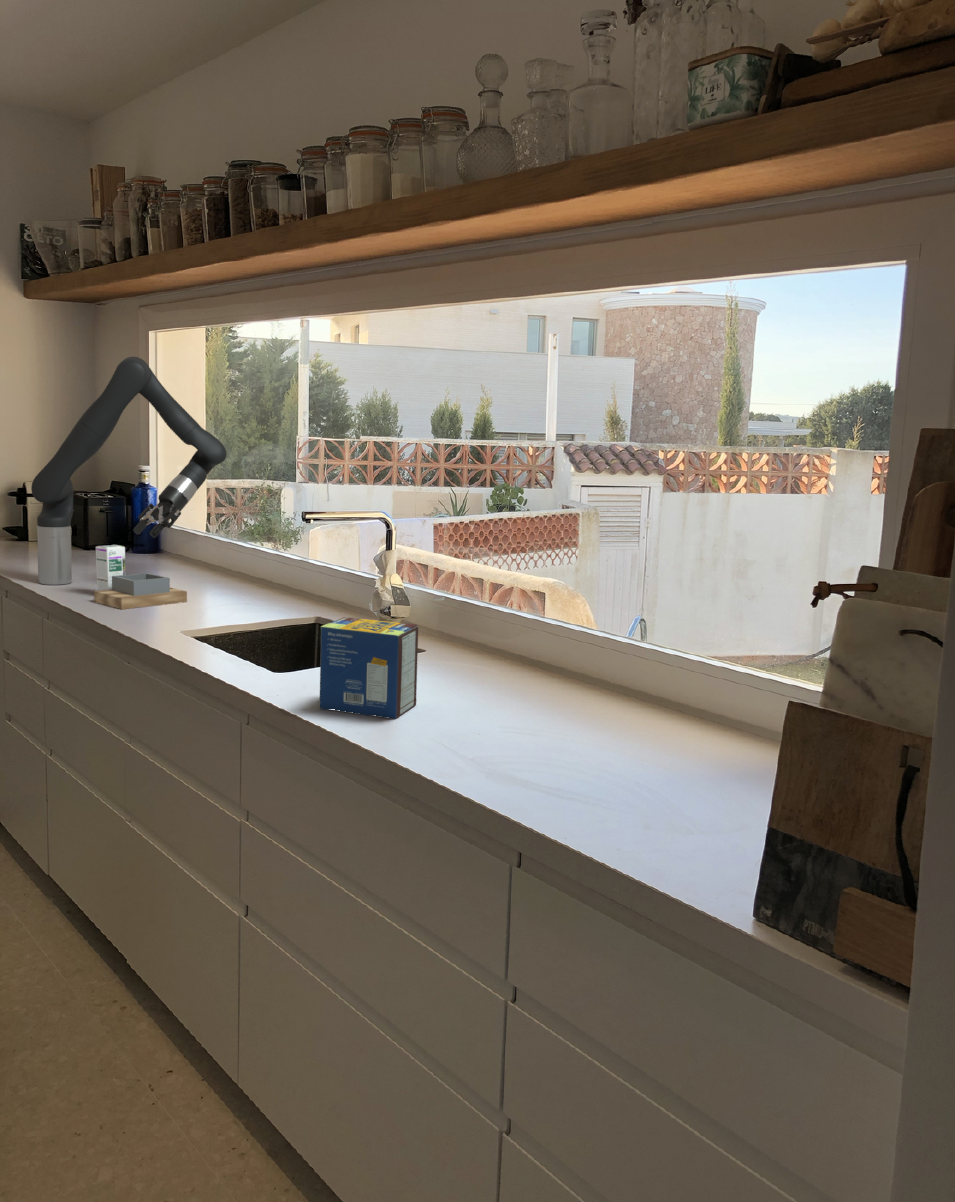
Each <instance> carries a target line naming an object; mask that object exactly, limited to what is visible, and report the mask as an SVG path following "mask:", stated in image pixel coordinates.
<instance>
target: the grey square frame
mask: <svg viewBox="0 0 955 1202" xmlns="http://www.w3.org/2000/svg"><path fill="white" fill-rule="evenodd" d="M170 580H171V579H170V577H168V576H163V575H158V574H154V573H150V572H144V573H132V574H126V575H118V576H112V590H113V591H117V592H120V593H124V594H128V595H132V596H138V595H148V594H157V593H166V592H170V586H171V584H170V582H171V581H170Z"/></svg>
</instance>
